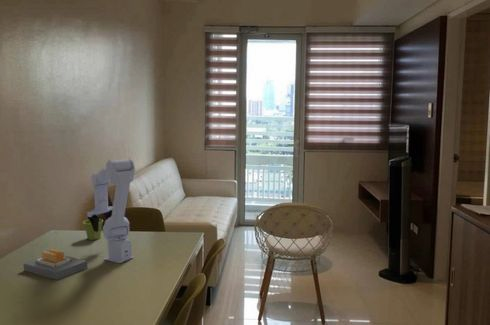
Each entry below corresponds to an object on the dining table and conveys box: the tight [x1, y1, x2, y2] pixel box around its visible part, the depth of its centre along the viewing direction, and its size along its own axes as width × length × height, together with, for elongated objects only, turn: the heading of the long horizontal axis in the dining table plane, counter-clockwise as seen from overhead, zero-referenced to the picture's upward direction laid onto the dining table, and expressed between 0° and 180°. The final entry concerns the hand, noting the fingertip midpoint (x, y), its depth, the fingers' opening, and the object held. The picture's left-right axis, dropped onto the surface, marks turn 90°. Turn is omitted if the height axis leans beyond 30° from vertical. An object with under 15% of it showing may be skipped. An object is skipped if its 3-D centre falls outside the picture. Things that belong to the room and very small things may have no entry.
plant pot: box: [82, 218, 104, 241], centre depth 215 cm, size 9×9×9 cm
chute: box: [41, 248, 65, 264], centre depth 173 cm, size 8×4×4 cm, turn 59°
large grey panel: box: [23, 255, 88, 281], centre depth 173 cm, size 20×14×4 cm
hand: (102, 229), depth 196 cm, fingers open, 7 cm apart
